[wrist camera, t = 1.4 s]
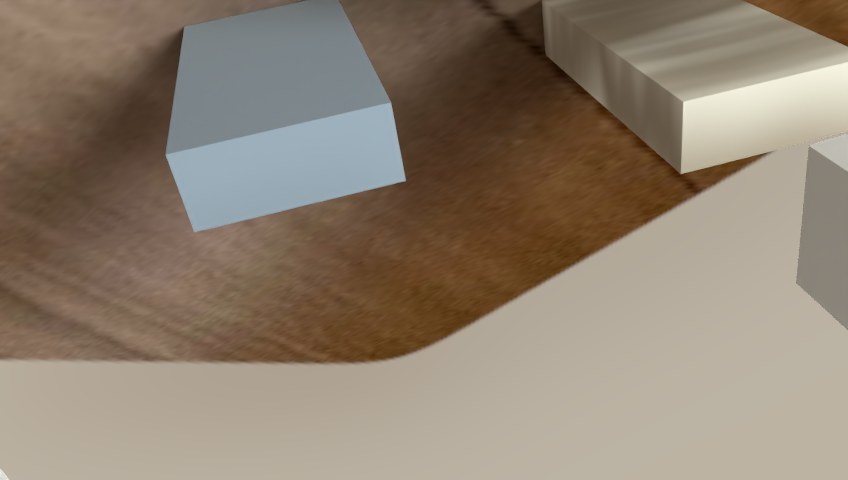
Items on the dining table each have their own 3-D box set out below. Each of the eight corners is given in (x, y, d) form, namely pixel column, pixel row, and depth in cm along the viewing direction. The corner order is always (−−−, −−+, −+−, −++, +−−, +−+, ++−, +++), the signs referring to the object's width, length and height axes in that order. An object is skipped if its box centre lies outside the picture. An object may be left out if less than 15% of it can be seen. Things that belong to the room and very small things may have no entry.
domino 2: (541, 0, 27) (683, 101, 19) (674, -30, 28) (869, 56, 19) (545, 54, 28) (681, 173, 20) (673, 25, 29) (857, 129, 20)
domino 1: (184, 26, 25) (165, 154, 17) (335, -7, 26) (391, 102, 17) (203, 84, 26) (194, 232, 18) (348, 52, 27) (405, 180, 18)
